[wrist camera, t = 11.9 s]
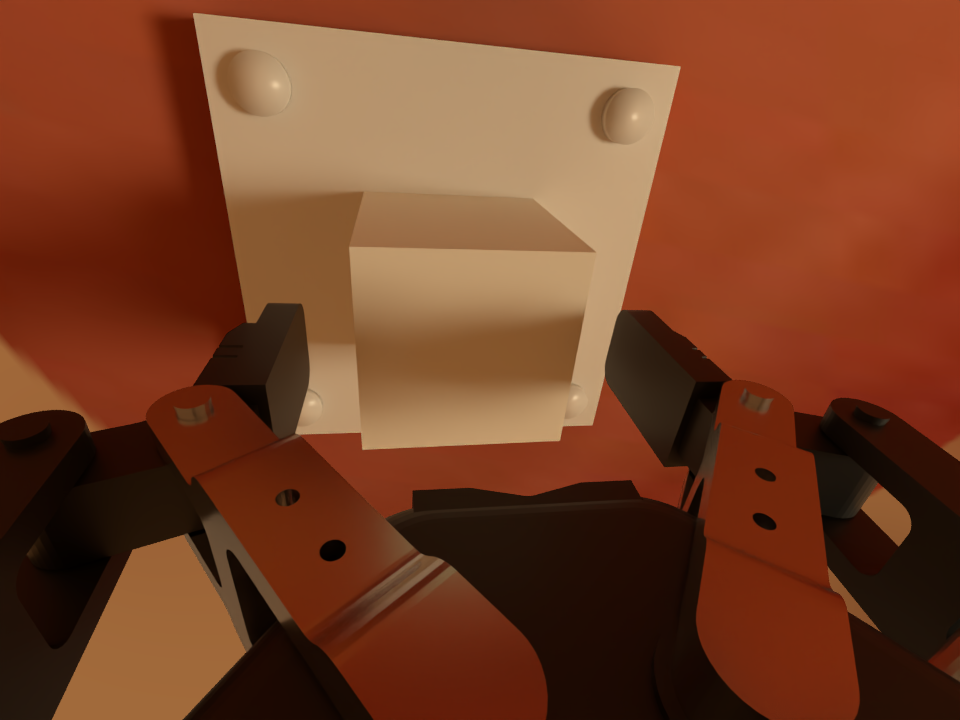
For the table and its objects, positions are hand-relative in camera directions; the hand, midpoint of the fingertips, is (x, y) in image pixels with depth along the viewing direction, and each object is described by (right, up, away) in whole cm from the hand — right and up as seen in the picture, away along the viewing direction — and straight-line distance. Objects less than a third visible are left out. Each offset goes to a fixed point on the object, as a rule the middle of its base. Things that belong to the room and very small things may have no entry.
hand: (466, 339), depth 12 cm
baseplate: (-1, +3, +6) cm, 7 cm away
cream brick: (-1, +3, +5) cm, 6 cm away
